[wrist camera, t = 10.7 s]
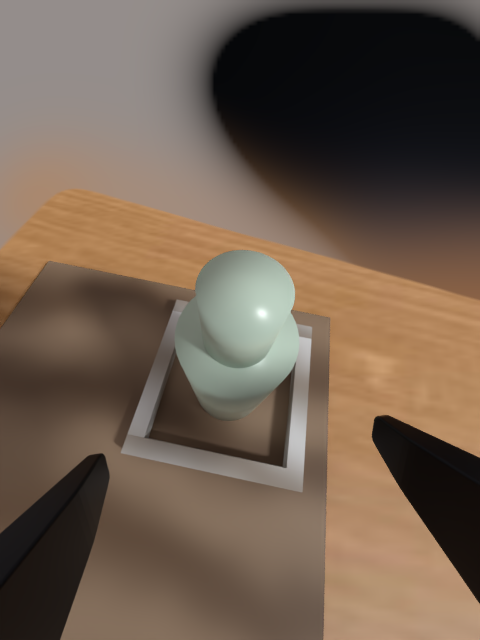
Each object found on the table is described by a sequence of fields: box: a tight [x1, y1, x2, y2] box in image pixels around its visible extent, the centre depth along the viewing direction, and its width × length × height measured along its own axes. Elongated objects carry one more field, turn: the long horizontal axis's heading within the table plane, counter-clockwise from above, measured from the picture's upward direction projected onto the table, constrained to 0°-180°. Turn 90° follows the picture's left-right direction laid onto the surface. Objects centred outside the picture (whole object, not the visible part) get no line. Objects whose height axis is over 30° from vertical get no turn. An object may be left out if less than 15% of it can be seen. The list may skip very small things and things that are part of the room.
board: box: [0, 261, 330, 640], centre depth 16 cm, size 20×24×2 cm
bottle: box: [175, 250, 299, 421], centre depth 12 cm, size 5×5×12 cm
